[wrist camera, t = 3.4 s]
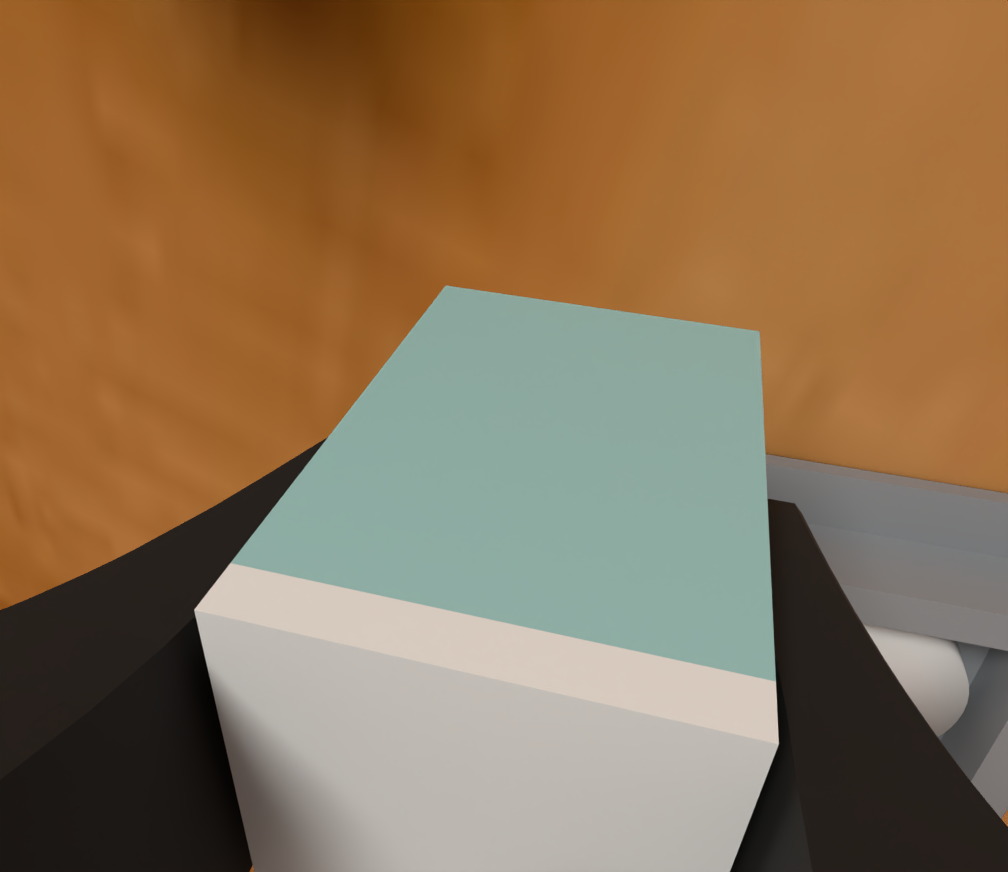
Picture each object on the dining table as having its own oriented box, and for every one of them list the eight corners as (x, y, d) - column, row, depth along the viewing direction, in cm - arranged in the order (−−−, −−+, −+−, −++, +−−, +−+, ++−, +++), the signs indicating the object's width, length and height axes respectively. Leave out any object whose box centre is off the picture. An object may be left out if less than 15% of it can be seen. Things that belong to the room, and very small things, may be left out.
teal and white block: (760, 331, 10) (778, 744, 5) (699, 572, 12) (673, 1021, 7) (445, 285, 11) (193, 609, 6) (443, 521, 13) (261, 900, 8)
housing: (1182, 521, 18) (1248, 612, 15) (994, 811, 24) (1021, 906, 22) (401, 395, 21) (360, 455, 19) (411, 679, 27) (381, 750, 25)
